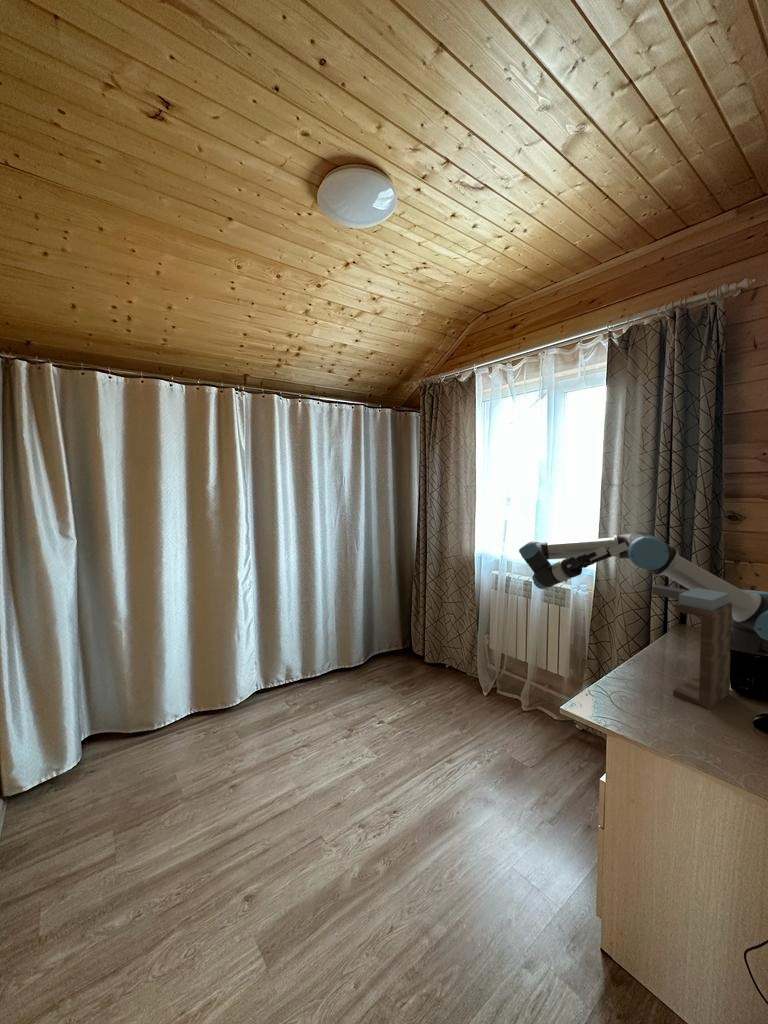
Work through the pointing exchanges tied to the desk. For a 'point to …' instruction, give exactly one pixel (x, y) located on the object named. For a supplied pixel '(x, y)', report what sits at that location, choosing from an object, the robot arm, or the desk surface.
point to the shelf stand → (710, 657)
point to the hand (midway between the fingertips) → (616, 547)
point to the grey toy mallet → (694, 597)
